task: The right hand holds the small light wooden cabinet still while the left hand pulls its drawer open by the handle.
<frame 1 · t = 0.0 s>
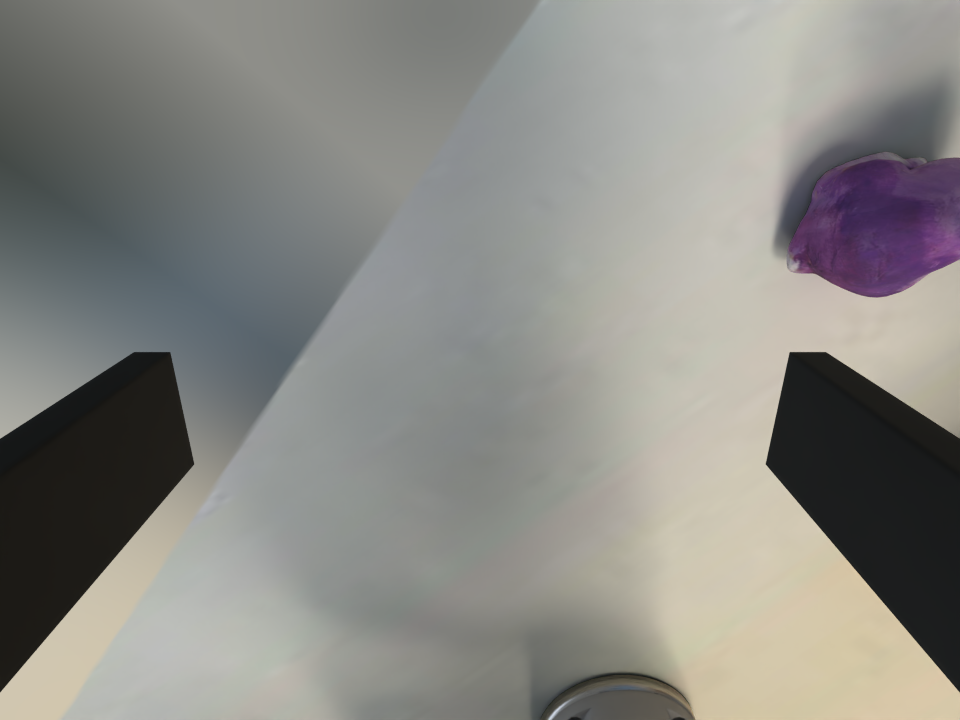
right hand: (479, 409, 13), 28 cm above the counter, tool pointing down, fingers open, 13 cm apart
figurine: (862, 207, 38), on the counter
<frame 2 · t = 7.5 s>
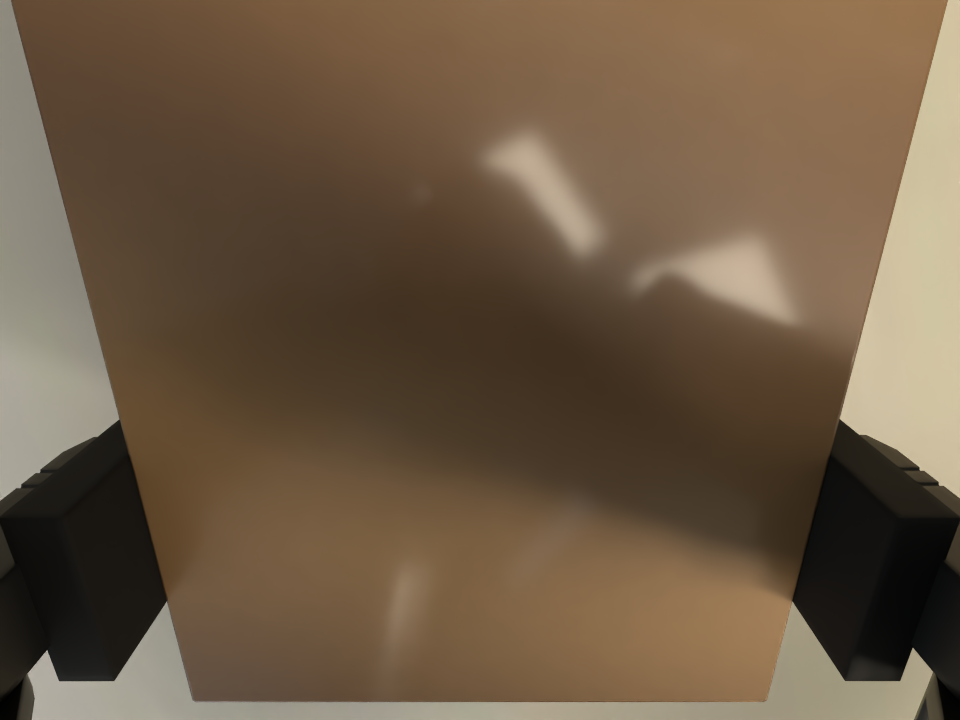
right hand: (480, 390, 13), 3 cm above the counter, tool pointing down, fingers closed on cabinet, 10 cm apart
cabinet: (479, 136, 14), on the counter, touching right hand
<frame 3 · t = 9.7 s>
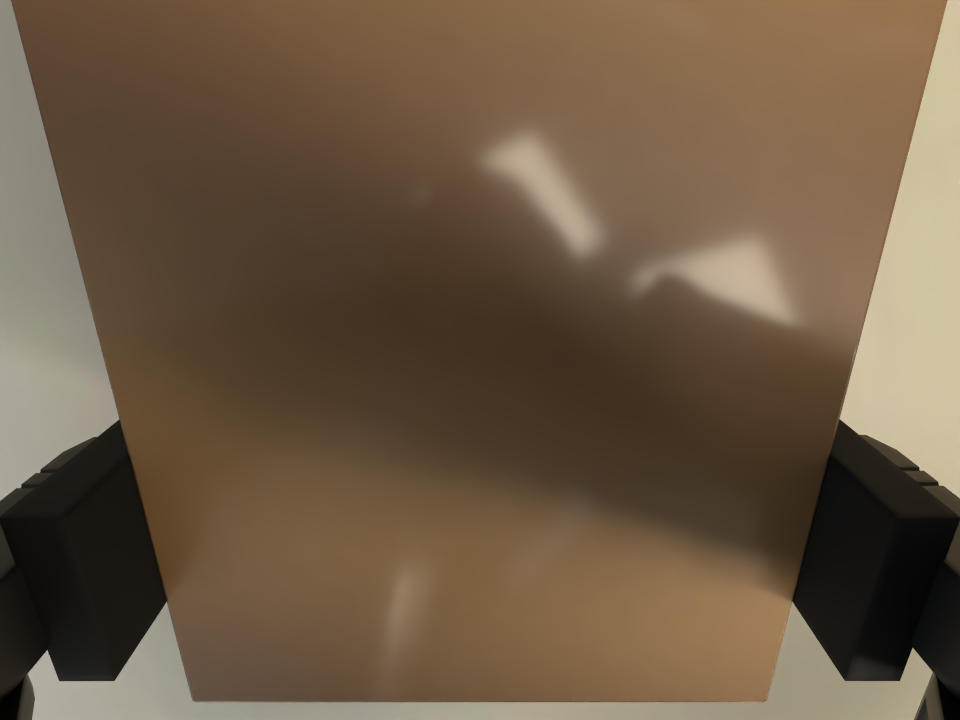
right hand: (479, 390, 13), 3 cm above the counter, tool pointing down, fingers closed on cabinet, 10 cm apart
cabinet: (479, 137, 14), on the counter, touching right hand
when the right hand's fingers open (3 cm above the counter, at t = 12.6 s): cabinet stays where it is, on the counter.
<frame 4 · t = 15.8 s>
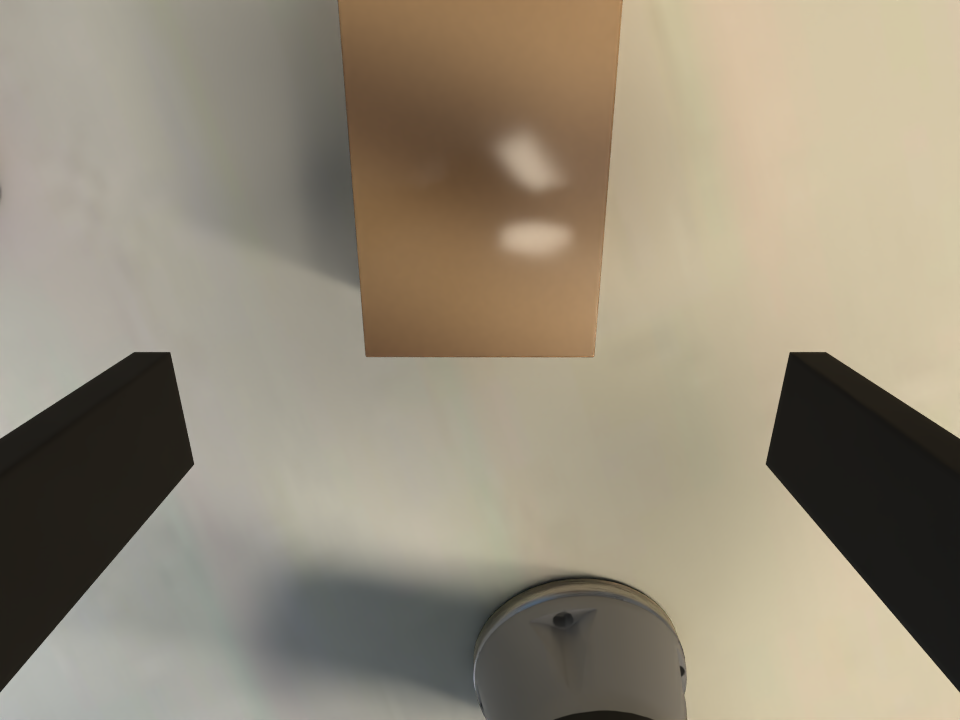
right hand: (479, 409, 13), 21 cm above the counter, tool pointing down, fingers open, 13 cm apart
cabinet: (480, 132, 30), on the counter
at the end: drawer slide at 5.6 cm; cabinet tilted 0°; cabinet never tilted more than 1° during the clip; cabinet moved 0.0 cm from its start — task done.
